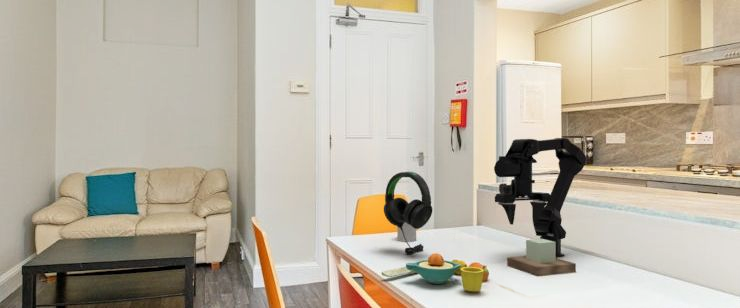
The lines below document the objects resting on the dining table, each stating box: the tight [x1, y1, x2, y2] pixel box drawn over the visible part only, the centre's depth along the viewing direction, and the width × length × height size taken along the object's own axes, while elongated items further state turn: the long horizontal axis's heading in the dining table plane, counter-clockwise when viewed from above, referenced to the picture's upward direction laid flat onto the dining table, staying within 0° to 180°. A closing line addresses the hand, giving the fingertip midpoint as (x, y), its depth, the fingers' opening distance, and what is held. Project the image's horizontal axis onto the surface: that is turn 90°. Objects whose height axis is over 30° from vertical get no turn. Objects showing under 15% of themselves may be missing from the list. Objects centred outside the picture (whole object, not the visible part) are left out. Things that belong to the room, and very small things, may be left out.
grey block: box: [396, 222, 417, 243], centre depth 190 cm, size 8×8×12 cm
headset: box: [383, 171, 433, 256], centre depth 167 cm, size 18×14×29 cm
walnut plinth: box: [506, 255, 577, 277], centre depth 146 cm, size 14×14×2 cm
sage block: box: [525, 238, 557, 263], centre depth 146 cm, size 6×6×6 cm
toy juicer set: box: [381, 252, 490, 292], centre depth 136 cm, size 29×18×8 cm, turn 60°
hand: (523, 223), depth 158 cm, fingers open, 9 cm apart
